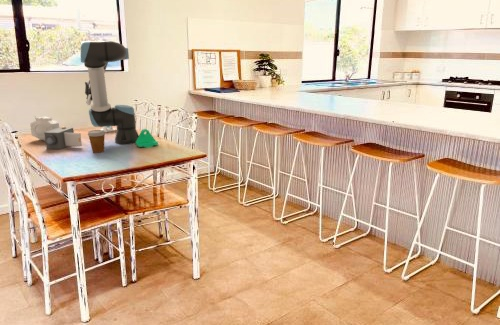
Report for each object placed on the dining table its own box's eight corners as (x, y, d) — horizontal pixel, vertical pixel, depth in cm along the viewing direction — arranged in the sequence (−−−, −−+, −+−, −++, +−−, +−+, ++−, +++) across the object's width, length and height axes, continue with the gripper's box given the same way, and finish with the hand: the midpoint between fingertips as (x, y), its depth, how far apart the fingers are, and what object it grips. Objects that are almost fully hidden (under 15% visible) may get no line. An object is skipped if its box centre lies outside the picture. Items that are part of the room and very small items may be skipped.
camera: (41, 138, 272) (37, 114, 268) (64, 139, 268) (61, 115, 264) (28, 141, 262) (25, 117, 258) (52, 143, 258) (49, 118, 254)
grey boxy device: (57, 150, 240) (55, 132, 237) (43, 149, 241) (41, 132, 238) (75, 143, 258) (72, 126, 255) (61, 142, 259) (59, 126, 256)
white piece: (108, 132, 291) (106, 111, 287) (95, 131, 295) (93, 110, 290) (118, 129, 302) (116, 109, 298) (105, 128, 306) (103, 108, 301)
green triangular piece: (139, 148, 244) (137, 131, 241) (135, 146, 251) (134, 129, 248) (158, 146, 250) (157, 129, 247) (154, 143, 256) (153, 127, 253)
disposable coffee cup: (110, 150, 239) (108, 130, 235) (97, 154, 231) (95, 133, 227) (99, 148, 243) (97, 129, 240) (86, 152, 235) (83, 131, 232)
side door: (64, 145, 247) (63, 132, 245) (65, 145, 248) (64, 132, 245) (81, 146, 245) (79, 133, 243) (81, 146, 246) (80, 133, 244)
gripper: (109, 78, 273) (100, 107, 262) (91, 78, 275) (81, 107, 264) (104, 71, 266) (95, 100, 255) (85, 71, 268) (75, 100, 257)
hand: (88, 103), depth 260 cm, fingers closed
